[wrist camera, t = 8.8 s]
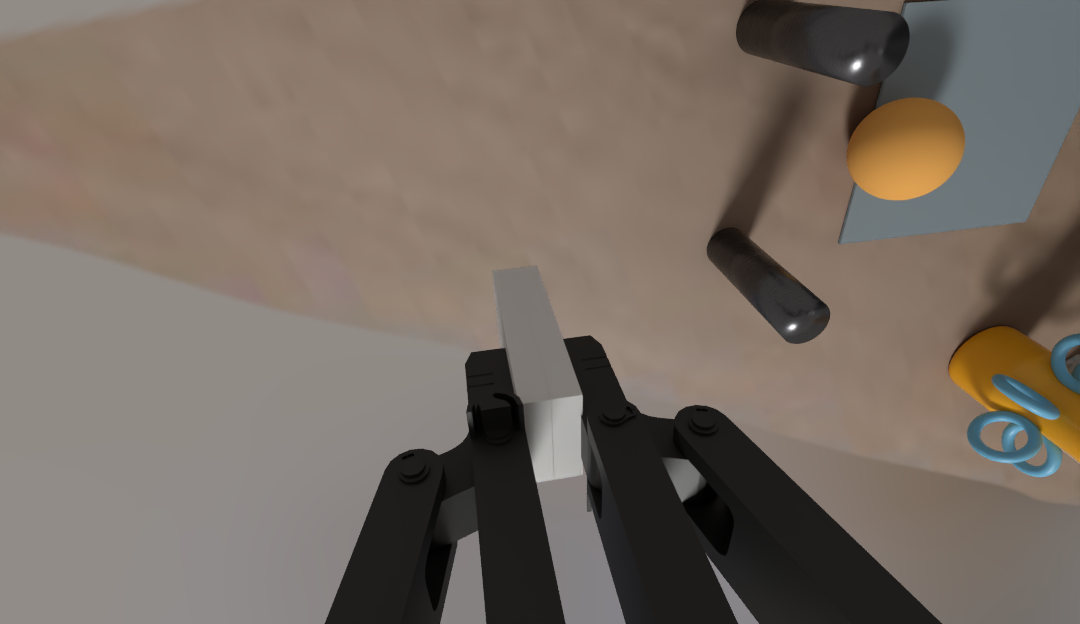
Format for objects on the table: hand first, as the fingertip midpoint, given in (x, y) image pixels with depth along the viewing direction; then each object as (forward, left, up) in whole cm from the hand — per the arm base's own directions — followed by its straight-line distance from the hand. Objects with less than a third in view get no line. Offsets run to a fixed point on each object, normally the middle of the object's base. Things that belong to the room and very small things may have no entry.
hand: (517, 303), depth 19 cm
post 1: (-15, -6, -14) cm, 21 cm away
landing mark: (-30, 0, -14) cm, 33 cm away
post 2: (-15, +6, -14) cm, 21 cm away
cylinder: (-39, +19, -14) cm, 46 cm away
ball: (-23, 0, -11) cm, 26 cm away
